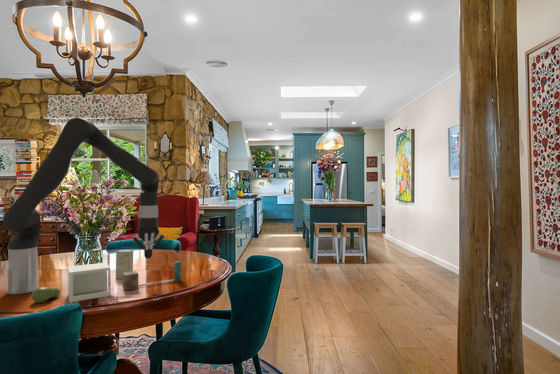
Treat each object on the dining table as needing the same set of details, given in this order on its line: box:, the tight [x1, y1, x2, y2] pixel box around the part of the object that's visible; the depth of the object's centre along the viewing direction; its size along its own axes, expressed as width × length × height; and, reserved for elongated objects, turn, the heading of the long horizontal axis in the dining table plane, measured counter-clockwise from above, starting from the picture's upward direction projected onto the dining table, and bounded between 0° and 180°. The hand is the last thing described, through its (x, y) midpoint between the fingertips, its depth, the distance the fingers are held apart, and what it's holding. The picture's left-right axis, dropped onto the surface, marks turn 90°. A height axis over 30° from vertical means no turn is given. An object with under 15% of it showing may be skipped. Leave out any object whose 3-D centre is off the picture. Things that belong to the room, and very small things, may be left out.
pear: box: [31, 286, 61, 304], centre depth 125 cm, size 6×5×10 cm
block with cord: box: [122, 261, 182, 291], centre depth 143 cm, size 23×5×8 cm, turn 123°
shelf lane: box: [67, 261, 111, 303], centre depth 130 cm, size 13×11×11 cm
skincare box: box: [115, 249, 134, 279], centre depth 156 cm, size 6×4×12 cm
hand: (148, 258), depth 142 cm, fingers closed
